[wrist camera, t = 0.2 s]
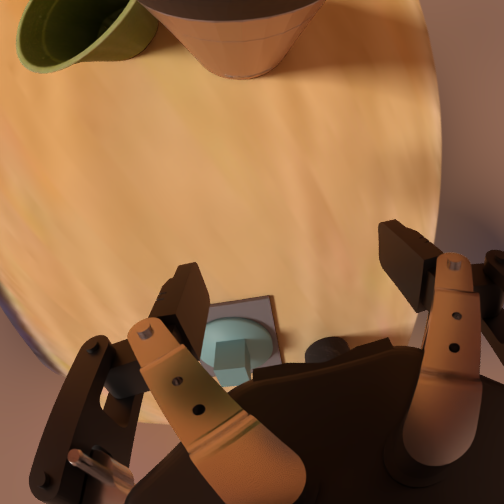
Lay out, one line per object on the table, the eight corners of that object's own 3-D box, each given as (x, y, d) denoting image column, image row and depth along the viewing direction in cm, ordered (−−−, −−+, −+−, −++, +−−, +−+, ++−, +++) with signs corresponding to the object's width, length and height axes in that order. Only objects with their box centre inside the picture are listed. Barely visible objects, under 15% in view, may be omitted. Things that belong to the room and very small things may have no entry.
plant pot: (203, 31, 19) (178, -15, 9) (111, 102, 22) (44, 105, 12) (148, -28, 14) (108, -73, 4) (67, 39, 17) (3, 27, 7)
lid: (185, 322, 35) (177, 355, 30) (265, 310, 34) (269, 345, 29) (208, 369, 40) (205, 400, 35) (276, 361, 40) (280, 393, 34)
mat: (176, 308, 35) (175, 311, 34) (268, 295, 34) (269, 298, 33) (208, 374, 42) (208, 376, 41) (282, 365, 41) (282, 368, 41)
